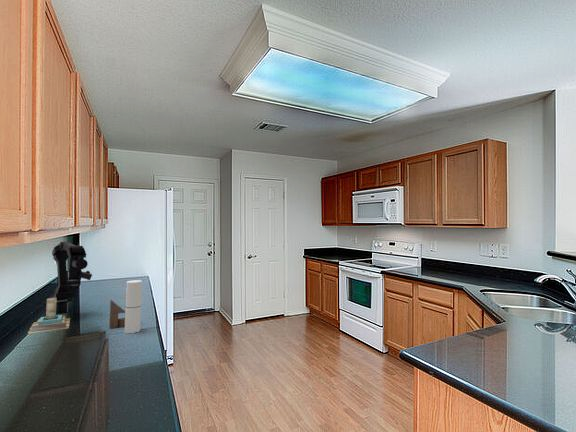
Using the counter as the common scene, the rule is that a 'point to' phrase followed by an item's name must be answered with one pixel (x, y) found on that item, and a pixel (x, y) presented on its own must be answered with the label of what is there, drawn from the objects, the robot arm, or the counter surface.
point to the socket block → (44, 321)
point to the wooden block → (116, 315)
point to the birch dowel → (51, 309)
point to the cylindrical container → (133, 306)
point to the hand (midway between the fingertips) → (73, 295)
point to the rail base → (49, 326)
